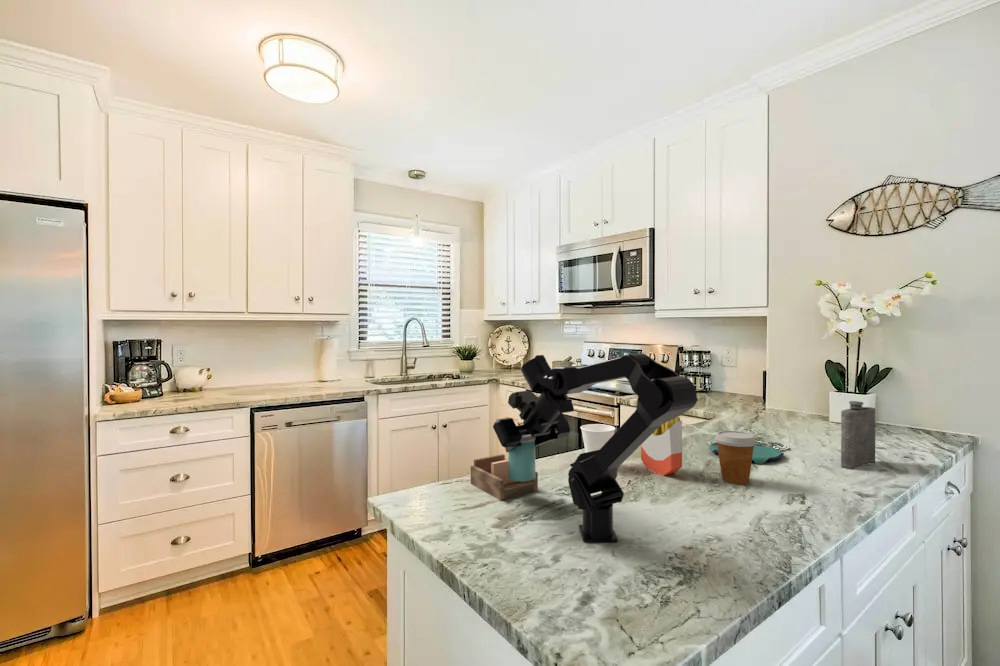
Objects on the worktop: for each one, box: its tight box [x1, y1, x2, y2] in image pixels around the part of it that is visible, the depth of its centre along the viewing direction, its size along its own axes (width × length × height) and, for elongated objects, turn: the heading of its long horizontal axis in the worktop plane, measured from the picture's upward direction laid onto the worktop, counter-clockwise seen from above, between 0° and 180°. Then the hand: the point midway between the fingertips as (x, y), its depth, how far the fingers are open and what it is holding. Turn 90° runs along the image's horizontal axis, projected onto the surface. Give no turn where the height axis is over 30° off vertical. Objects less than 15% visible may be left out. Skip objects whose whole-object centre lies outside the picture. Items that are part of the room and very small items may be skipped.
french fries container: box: [640, 416, 683, 476], centre depth 129 cm, size 5×11×18 cm, turn 28°
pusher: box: [491, 459, 518, 485], centre depth 118 cm, size 1×8×6 cm, turn 123°
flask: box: [840, 400, 876, 470], centre depth 134 cm, size 4×14×18 cm, turn 117°
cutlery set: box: [708, 438, 791, 465], centre depth 149 cm, size 20×30×2 cm, turn 127°
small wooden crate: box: [470, 453, 539, 501], centre depth 119 cm, size 14×11×6 cm
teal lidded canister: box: [507, 435, 537, 481], centre depth 112 cm, size 7×7×10 cm
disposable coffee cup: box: [714, 430, 757, 485], centre depth 122 cm, size 10×10×12 cm
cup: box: [580, 423, 616, 453], centre depth 136 cm, size 10×10×11 cm
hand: (518, 448), depth 113 cm, fingers closed on teal lidded canister, 6 cm apart
